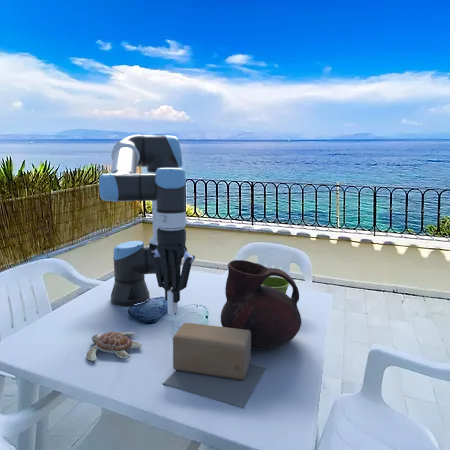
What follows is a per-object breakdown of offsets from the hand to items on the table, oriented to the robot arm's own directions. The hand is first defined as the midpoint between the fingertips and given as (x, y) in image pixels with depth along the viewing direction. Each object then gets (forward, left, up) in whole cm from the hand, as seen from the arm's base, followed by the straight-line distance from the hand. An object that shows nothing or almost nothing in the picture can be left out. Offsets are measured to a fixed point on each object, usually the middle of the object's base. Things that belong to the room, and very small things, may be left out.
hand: (172, 312), depth 101 cm
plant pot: (-48, +15, -16) cm, 53 cm away
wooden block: (-1, 0, -10) cm, 10 cm away
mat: (0, +13, -16) cm, 20 cm away
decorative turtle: (0, -21, -16) cm, 27 cm away
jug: (-23, +18, -16) cm, 33 cm away
